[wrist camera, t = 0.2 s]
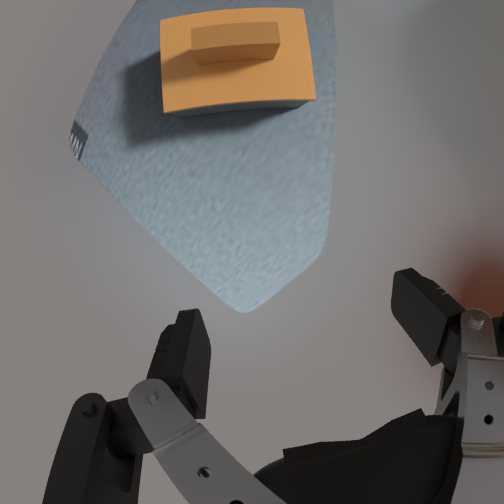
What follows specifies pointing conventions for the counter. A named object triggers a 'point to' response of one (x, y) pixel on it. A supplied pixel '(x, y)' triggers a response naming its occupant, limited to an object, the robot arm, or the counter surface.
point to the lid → (235, 58)
